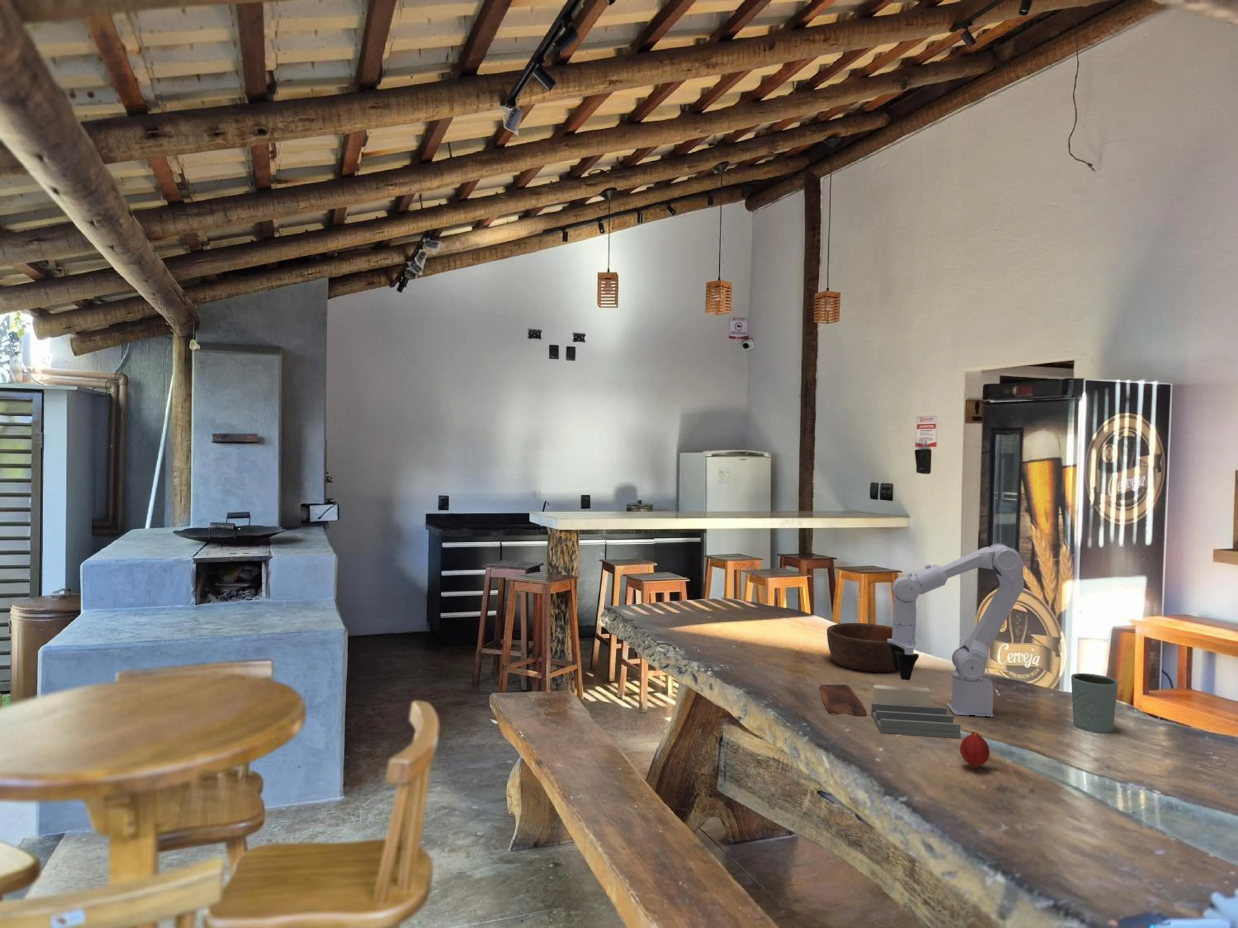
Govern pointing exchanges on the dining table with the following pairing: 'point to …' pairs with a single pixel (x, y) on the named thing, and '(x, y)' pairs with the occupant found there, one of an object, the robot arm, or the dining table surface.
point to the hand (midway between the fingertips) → (902, 675)
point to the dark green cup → (1094, 702)
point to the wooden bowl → (861, 646)
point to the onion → (974, 750)
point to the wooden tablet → (841, 700)
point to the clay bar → (901, 695)
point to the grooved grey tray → (915, 720)
